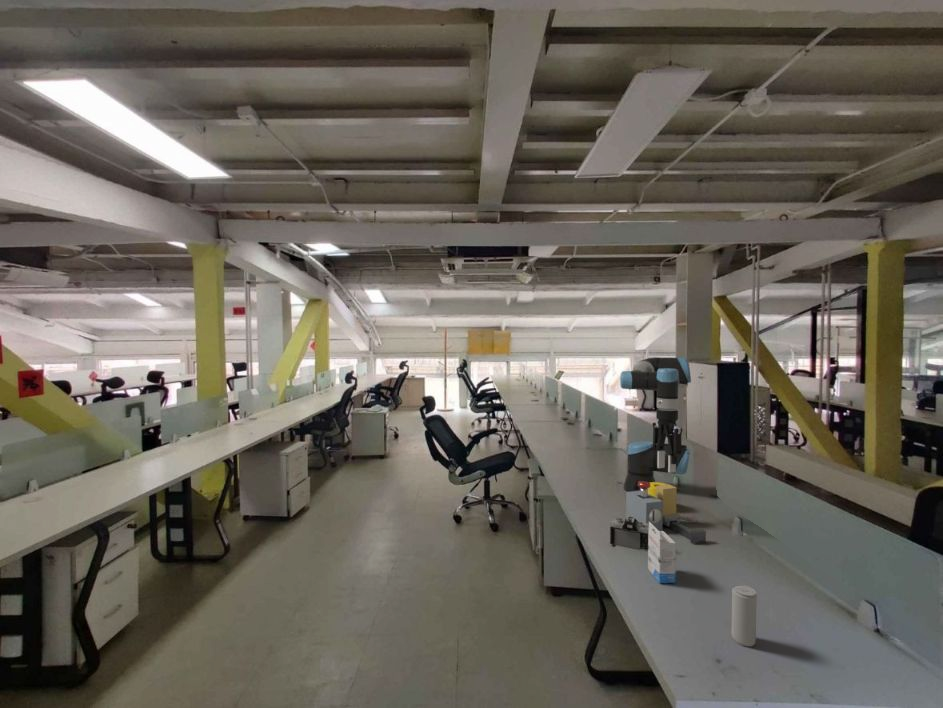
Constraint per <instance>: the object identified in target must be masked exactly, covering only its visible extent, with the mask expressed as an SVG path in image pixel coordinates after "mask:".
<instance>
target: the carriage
mask: <svg viewBox="0 0 943 708" xmlns="http://www.w3.org/2000/svg"><path fill="white" fill-rule="evenodd" d="M656 498H657V499H659V500H661V501H663V518H662V523H663V524H662V525H664V526H665V525H666V527H667V526H670V521H677V522H678V523H680V521H681V520H682V515H680V514H679V513H677V487H676V486H674V485H672V484H670V483H669V484H668V485H658V486H656Z"/></svg>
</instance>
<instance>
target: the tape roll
mask: <svg viewBox="0 0 943 708" xmlns="http://www.w3.org/2000/svg"><path fill="white" fill-rule="evenodd" d="M649 483H650V488H648V494H650V495H652V496H654V497H656V486H658V485H668V484H667V483H663V482H657V481H655V482H649Z"/></svg>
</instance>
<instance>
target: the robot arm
mask: <svg viewBox="0 0 943 708" xmlns="http://www.w3.org/2000/svg"><path fill="white" fill-rule="evenodd" d="M689 361H690V360H688V358H686V357H657V356H655V357H654V356H652V357H648V358H644V359H642V360H639V361H637V362H636V363H635V364H634V365H633V368H632V370H623V371H621V373H620V378H619V379H620V380H619V381H620V384H619V385H620V388H621V389H624V390H642V391H644V390H645V391H656V408H657V409H656V410H655V411H656V415H655V416H656V417H655V418H656V419H657V422H652V427H653V428H652V429H653V430H652V431H653V432H652V441H646V440H644V441H643V440H642V441H639V440H638V441H634V442H631V443H629V444H628V446H627V453H626V454H627V474H626V477H625V480H624V483H623V490H624V491H625V492H632V491H640V487H639V486H638V481H646V482H656V479H655V476H654V475H655V473H654V472H659V473H667V474H674V475H685V474H686V473H687V470H688V466H689V461H690V453H691V449H689V448H687V446H688V445H687V444H686V443H685V441H684V420H685V419H684V418H685V417H684V415H685V414H684V413H685V412H684V410H685V409H684V408H685V407H684V406H685V404H684V403H685V389H687V388H688V385H689V384H690V383H691V382H692V377H691V369H690V362H689Z"/></svg>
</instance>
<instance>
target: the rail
mask: <svg viewBox="0 0 943 708" xmlns="http://www.w3.org/2000/svg"><path fill="white" fill-rule="evenodd" d="M662 525H664V524H663V523H662ZM664 526H666V525H664ZM666 527H667V528H669V529H670V530H672V531H674V532H675V533H677V534H679V535H681V536H683V537H685V538H686V539H688V540H690V544H692V545H698V544H705V543H707V531H706V530H704V529H696V530H692V529H691V528H689V527H687V526H685V525H684V524H682V523H680V522H679V523H678V522H677V521H670V526H666Z"/></svg>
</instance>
